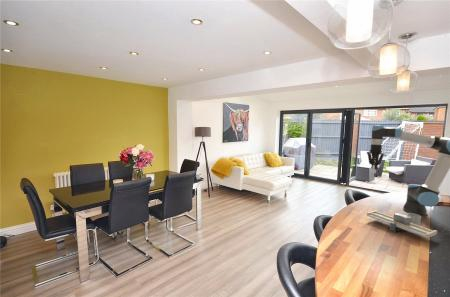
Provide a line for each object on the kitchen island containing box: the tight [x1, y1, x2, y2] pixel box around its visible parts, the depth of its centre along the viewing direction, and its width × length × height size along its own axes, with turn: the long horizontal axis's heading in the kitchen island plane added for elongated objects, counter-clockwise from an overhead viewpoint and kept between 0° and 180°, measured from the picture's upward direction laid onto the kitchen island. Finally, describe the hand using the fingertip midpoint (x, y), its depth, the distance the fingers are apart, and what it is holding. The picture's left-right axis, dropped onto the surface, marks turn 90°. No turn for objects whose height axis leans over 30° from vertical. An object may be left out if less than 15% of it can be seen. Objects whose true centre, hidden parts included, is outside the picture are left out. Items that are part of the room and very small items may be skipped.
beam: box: [366, 209, 438, 239], centre depth 152 cm, size 12×36×2 cm, turn 27°
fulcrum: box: [389, 222, 403, 234], centre depth 153 cm, size 15×3×6 cm, turn 117°
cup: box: [404, 212, 422, 226], centre depth 158 cm, size 7×10×9 cm
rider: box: [393, 212, 411, 226], centre depth 151 cm, size 4×8×6 cm, turn 27°
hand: (373, 173), depth 182 cm, fingers closed
